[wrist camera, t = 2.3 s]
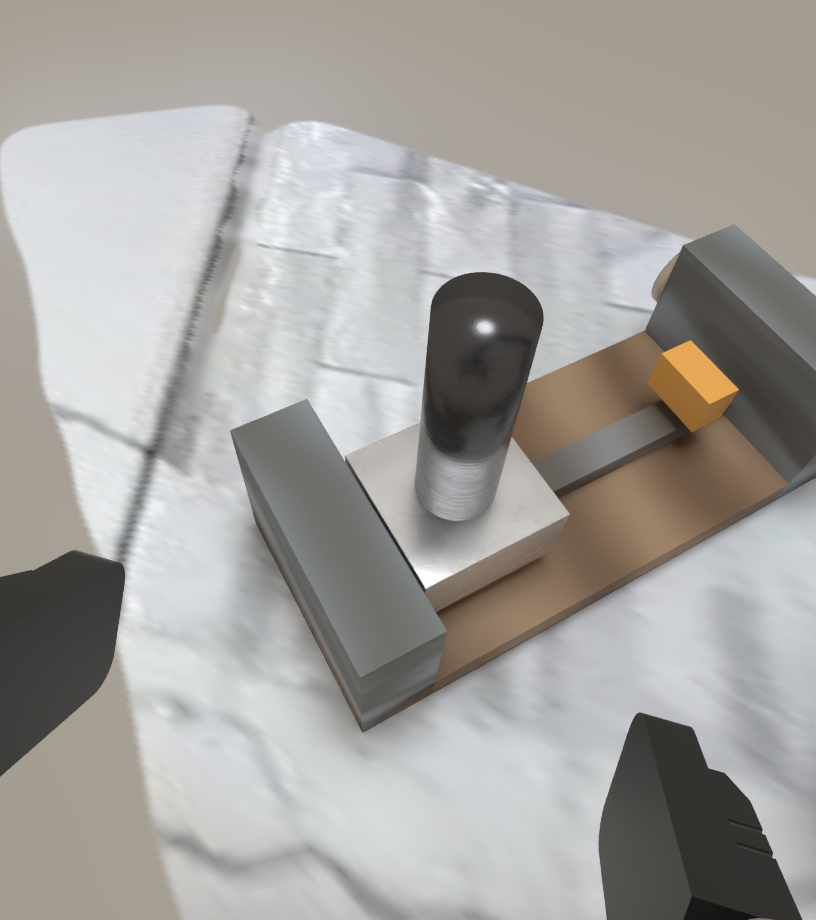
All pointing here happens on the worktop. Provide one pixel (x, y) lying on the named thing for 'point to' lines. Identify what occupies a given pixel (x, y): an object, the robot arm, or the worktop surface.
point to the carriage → (466, 448)
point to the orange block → (691, 385)
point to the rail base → (556, 482)
